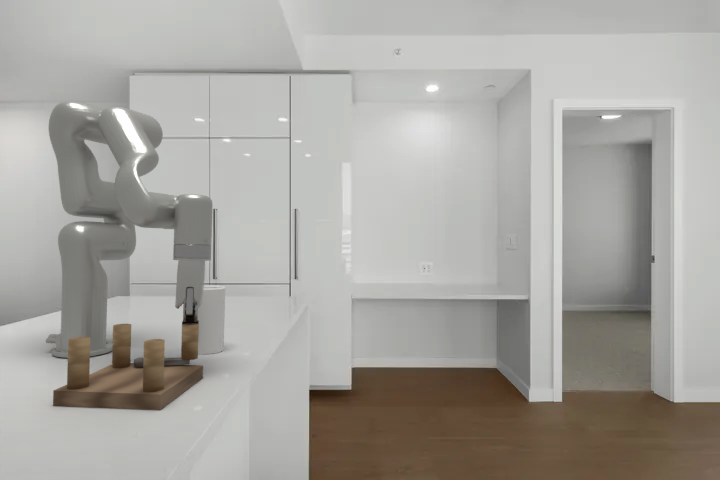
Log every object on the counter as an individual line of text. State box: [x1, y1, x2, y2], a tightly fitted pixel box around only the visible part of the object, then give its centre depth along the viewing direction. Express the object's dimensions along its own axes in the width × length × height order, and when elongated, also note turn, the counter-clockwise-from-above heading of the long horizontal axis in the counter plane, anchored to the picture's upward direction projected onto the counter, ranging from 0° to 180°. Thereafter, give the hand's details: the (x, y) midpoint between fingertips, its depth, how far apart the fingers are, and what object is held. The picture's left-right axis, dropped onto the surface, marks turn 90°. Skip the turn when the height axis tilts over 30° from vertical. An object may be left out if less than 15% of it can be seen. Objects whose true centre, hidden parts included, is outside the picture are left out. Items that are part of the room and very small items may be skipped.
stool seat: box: [52, 323, 204, 411], centre depth 84 cm, size 18×18×11 cm
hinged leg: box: [133, 323, 199, 367], centre depth 92 cm, size 12×3×8 cm, turn 106°
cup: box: [198, 285, 226, 355], centre depth 116 cm, size 8×8×16 cm
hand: (189, 339), depth 97 cm, fingers closed
